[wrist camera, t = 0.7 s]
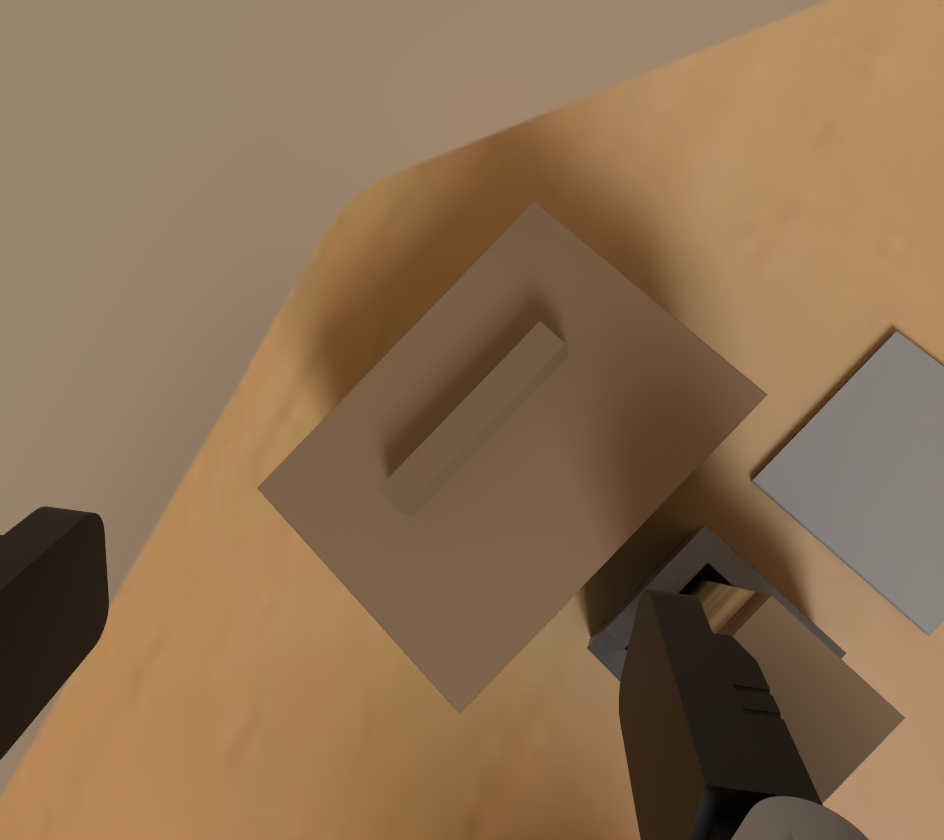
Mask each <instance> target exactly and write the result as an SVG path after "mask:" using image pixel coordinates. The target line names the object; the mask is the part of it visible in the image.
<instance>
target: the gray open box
mask: <svg viewBox="0 0 944 840" xmlns="http://www.w3.org/2000/svg"><path fill="white" fill-rule="evenodd" d="M702 568H704V569H705V570H706V571H707V572H708V573H709V574H711V575H712V576H713V577H714V578H715V579H716V580H717V581H718V582H719V583H720V584H724V585H728V586H732V587H737V588H741V589H745V590H750V591H754V592H758V593H763V594H767V595H772V596H773V597H774V598H775V599H776V600H777V601H778V602H779V603H780V604H781V605H782V606H784V607H785V608H786V609H787V610H788V611H789V612H790V613H791V614H792V615H793V616H794V617H796V618H797V619H798V620H799V621H800V622H801V623H802V624H803V625H804V626H805V627H806V628H808V629H809V630H810V631H811V632H812V633H813V634H814V635H815V636H816V637H817V638H819V639H820V640H821V641H822V642H823V643H824V644H825V645H826V646H827V647H828V648H829V649H831V650H832V651H833V652H834V653H835V654H836V655H837V656H838V657H839V658H840V659H841V658H842V657H843V656H844V655H845V654H846V652H845V651H843V650H842V649H841V648H840V647H839V646H838V645H837V644H836V643H835V642H834V641H832V640H831V639H830V638H829V637H828V636H827V635H826V634H825V633H824V632H823V631H822V630H820V629H819V628H818V627H817V626H816V625H815V624H814V623H813V622H812V621H811V620H809V619H808V618H807V617H806V616H805V615H804V614H803V613H802V612H801V611H800V610H798V609H797V608H796V607H795V606H794V605H793V604H792V603H791V602H790V601H789V600H787V599H786V598H785V597H784V596H783V595H782V594H781V593H780V592H779V591H778V590H777V589H775V588H774V587H773V586H772V585H771V584H770V583H769V582H768V581H767V580H766V579H764V578H763V577H762V576H761V575H760V574H759V573H758V572H757V571H756V570H755V569H753V568H752V567H751V566H750V565H749V564H748V563H747V562H746V561H745V560H744V559H743V558H741V557H740V556H739V555H738V554H737V553H736V552H735V551H734V550H733V549H732V548H730V547H729V546H728V545H727V544H726V543H725V542H724V541H723V540H722V539H721V538H719V537H718V536H717V535H716V534H715V533H714V532H713V531H712V530H711V529H710V528H709V527H707V526H706V525H704V526H702V527H699V528H697V529H695V530H694V531H693V532H692V533H691V534H690V535H689V536H688V537H687V538H686V539H685V540H684V541H683V542H682V543H681V544H680V545H679V546H678V547H677V548H676V550H675V551H674V552H673V553H672V554H671V555H670V556H669V557H668V558H667V559H666V560H665V561H664V562H663V563H662V564H661V565H660V566H659V567H658V568H657V569H656V570H655V571H654V572H653V573H652V574H651V575H650V576H649V577H648V579H647V580H646V581H645V582H644V583H643V584H642V585H641V586H640V587H639V588H638V589H637V590H636V591H635V592H634V593H633V594H632V595H631V596H630V597H629V598H628V599H627V600H626V601H625V602H624V603H623V604H622V605H621V607H620V608H619V609H618V610H617V611H616V612H615V613H614V614H613V615H612V616H611V617H610V618H609V619H608V620H607V621H606V622H605V623H604V624H603V625H602V626H601V627H600V628H599V629H598V630H597V631H596V632H595V633H594V635H593V636H592V637H591V638H590V641H589V644H588V647H587V648H588V649H589V650H590V651H591V652H592V653H593V654H594V655H595V656H596V657H597V658H598V660H599V661H600V662H601V663H602V664H603V665H604V666H605V667H606V668H607V669H608V670H609V671H610V672H611V673H612V674H613V675H614V676H615V677H616V678H617V679H618V680H619V681H620V682H621V676H622V671H623V667H624V663H625V658H626V654H627V650H628V646H629V641H630V637H631V633H632V629H633V624H634V620H635V616H636V612H637V608H638V604H639V600H640V597H641V595H642V593H643V591H644V590H645V589H649V590H657V591H664V592H672V593H679V592H680V591H681V590H682V589H683V588H684V587H685V585H686V584H687V583H688V582H689V581H690V580H691V579H692V578H693V577H694V576H695V575H696V574H697V573H698V572H699V571H700V570H701V569H702Z"/></svg>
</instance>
